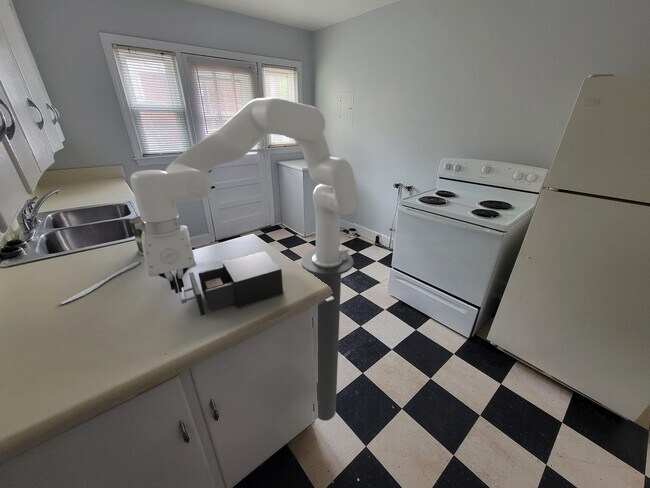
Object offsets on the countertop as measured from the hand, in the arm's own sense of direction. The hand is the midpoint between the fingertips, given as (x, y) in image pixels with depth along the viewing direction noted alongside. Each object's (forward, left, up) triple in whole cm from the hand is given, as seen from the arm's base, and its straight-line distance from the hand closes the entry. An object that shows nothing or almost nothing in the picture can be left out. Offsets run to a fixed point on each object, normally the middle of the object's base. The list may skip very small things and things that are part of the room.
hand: (178, 290), depth 71 cm
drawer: (-9, -6, -10) cm, 14 cm away
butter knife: (+21, -37, -11) cm, 43 cm away
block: (-9, -6, -9) cm, 14 cm away
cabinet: (-21, -6, -10) cm, 24 cm away
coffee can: (+6, -57, -11) cm, 58 cm away
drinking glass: (-4, -36, -11) cm, 37 cm away
